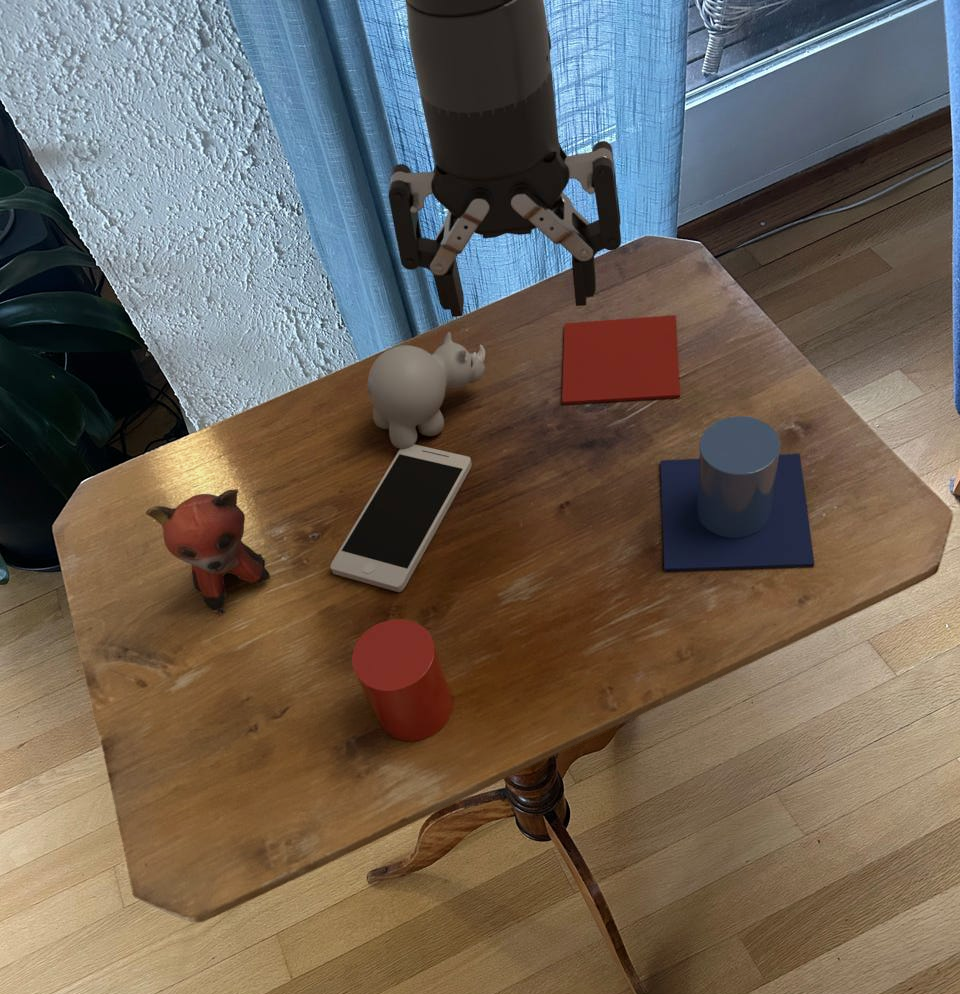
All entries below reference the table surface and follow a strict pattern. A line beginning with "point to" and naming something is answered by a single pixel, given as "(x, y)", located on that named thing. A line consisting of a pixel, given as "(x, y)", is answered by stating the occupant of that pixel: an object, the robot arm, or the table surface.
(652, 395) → the red mat
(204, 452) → the table surface
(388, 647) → the red cylinder
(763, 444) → the grey-blue cylinder
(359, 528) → the smartphone
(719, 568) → the blue mat
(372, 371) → the toy rhinoceros
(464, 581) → the table surface
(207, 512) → the stuffed fox
